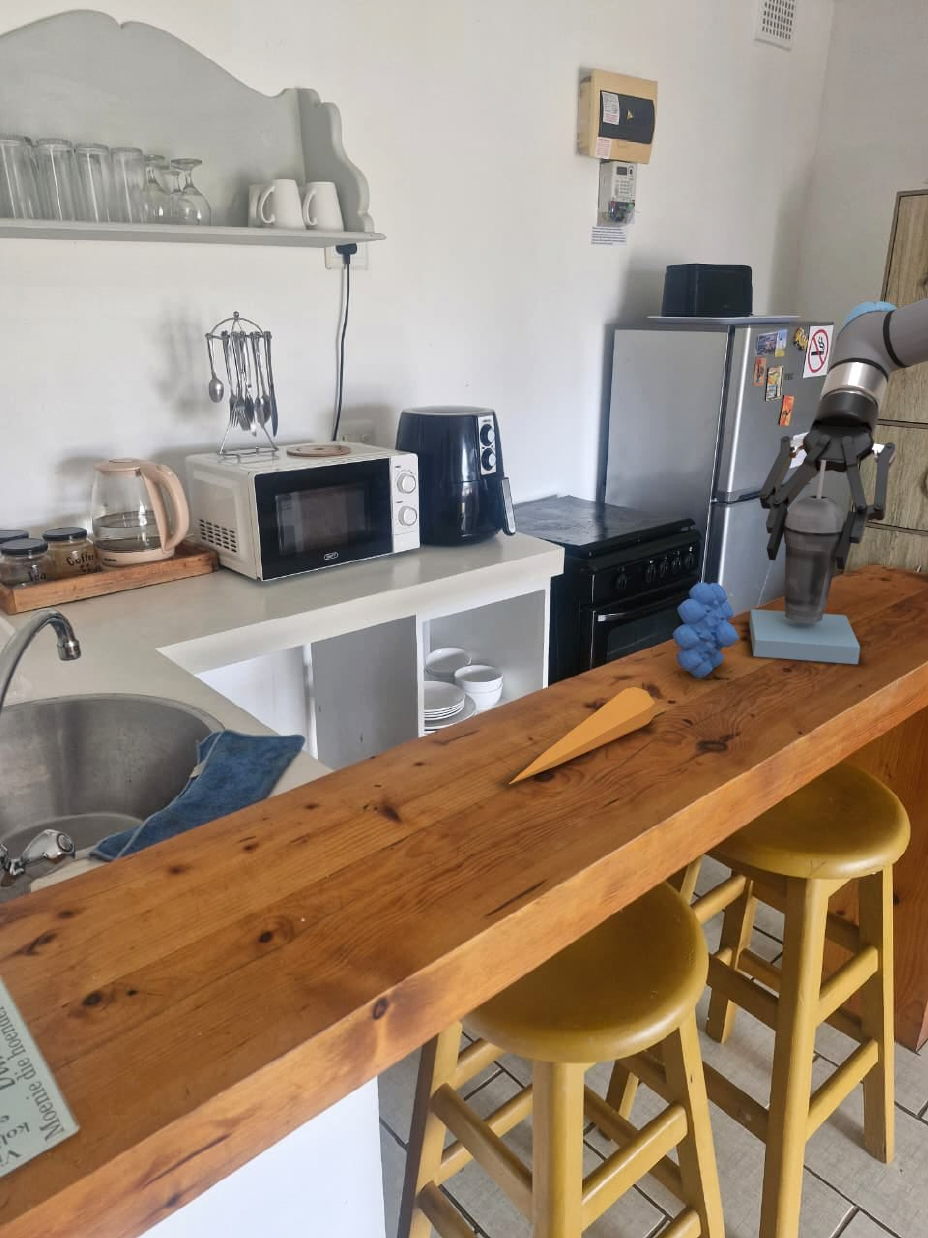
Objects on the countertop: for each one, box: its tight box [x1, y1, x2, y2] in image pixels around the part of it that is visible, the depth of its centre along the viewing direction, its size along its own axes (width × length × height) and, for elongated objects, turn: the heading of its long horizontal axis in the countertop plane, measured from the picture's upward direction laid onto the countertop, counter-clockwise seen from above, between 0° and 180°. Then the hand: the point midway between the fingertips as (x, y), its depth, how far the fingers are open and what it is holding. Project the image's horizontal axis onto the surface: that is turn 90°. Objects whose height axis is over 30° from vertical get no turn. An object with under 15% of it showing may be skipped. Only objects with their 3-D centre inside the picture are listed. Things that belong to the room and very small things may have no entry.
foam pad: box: [748, 608, 861, 665], centre depth 111 cm, size 12×12×2 cm
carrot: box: [508, 686, 656, 785], centre depth 85 cm, size 20×4×4 cm, turn 131°
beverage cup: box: [783, 460, 846, 623], centre depth 107 cm, size 7×7×20 cm
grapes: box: [672, 582, 740, 679], centre depth 100 cm, size 12×7×12 cm, turn 138°
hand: (804, 558), depth 105 cm, fingers closed on beverage cup, 7 cm apart
